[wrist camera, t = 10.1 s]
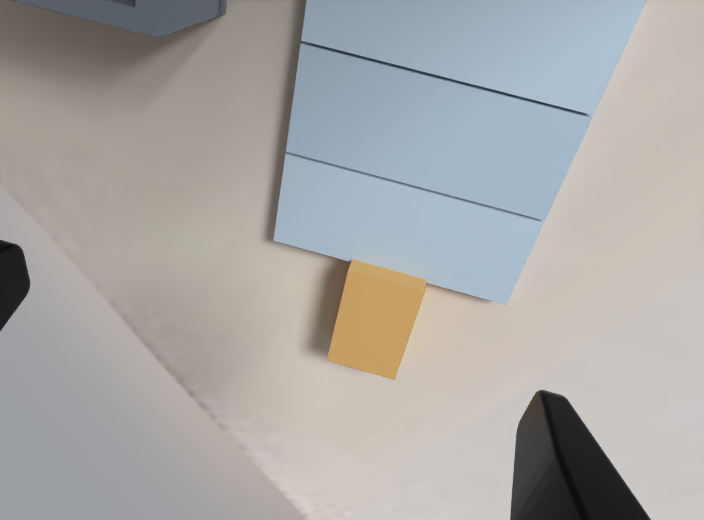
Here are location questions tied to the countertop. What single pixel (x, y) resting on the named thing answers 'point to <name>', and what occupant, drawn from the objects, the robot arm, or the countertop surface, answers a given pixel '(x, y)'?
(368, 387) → the countertop surface
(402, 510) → the countertop surface
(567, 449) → the robot arm
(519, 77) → the lid
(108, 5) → the tub
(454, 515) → the countertop surface
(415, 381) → the countertop surface
